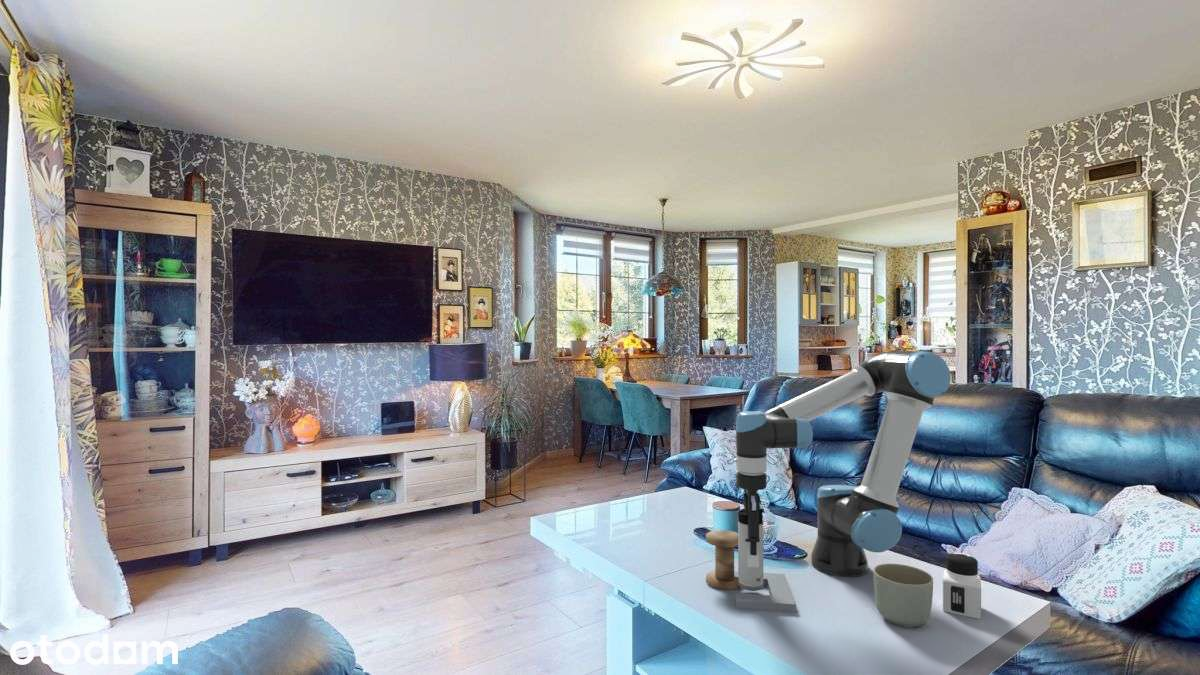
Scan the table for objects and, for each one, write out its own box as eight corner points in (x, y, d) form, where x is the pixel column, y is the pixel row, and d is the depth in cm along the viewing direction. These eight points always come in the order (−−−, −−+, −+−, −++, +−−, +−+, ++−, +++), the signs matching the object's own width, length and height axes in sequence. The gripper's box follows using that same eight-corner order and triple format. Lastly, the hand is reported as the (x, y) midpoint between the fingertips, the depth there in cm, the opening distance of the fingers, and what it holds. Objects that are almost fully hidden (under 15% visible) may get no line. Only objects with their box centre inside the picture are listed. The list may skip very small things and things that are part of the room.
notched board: (784, 581, 158) (784, 573, 158) (795, 612, 140) (795, 604, 140) (731, 578, 160) (731, 570, 160) (736, 608, 142) (736, 600, 142)
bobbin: (742, 575, 162) (742, 531, 162) (745, 591, 152) (745, 543, 152) (705, 573, 163) (705, 529, 163) (706, 588, 153) (706, 541, 153)
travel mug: (765, 592, 147) (765, 513, 147) (738, 590, 148) (738, 511, 148) (763, 582, 153) (763, 505, 153) (738, 580, 154) (737, 504, 154)
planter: (907, 638, 128) (907, 589, 128) (861, 613, 139) (861, 568, 139) (945, 627, 133) (945, 579, 133) (898, 604, 144) (898, 560, 144)
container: (981, 620, 136) (981, 564, 136) (942, 611, 140) (942, 557, 140) (980, 606, 143) (980, 553, 143) (943, 599, 147) (943, 547, 147)
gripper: (734, 463, 160) (734, 547, 161) (739, 480, 142) (739, 575, 142) (762, 464, 159) (762, 548, 159) (771, 481, 140) (771, 577, 140)
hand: (751, 561), depth 151 cm, fingers closed on travel mug, 6 cm apart
